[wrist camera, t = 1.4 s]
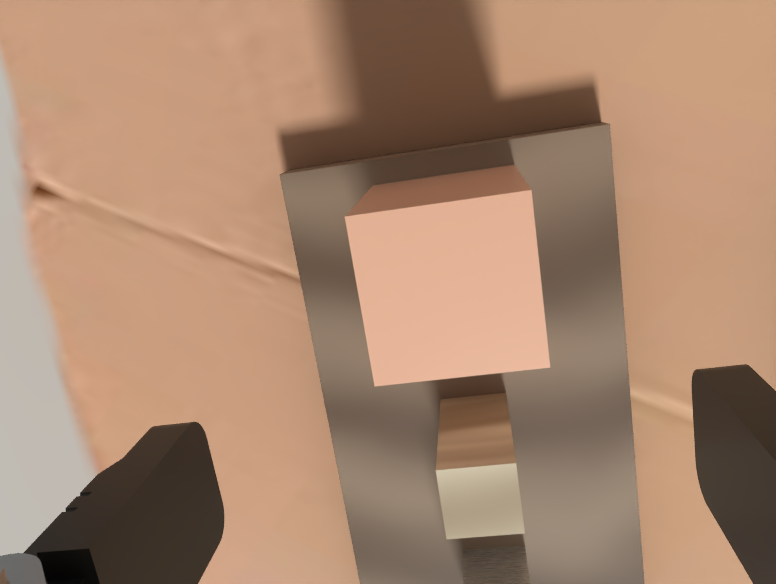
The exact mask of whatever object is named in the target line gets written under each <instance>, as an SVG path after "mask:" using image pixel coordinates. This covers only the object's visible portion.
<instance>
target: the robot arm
mask: <svg viewBox="0 0 776 584" xmlns="http://www.w3.org/2000/svg"><path fill="white" fill-rule="evenodd" d="M692 401H693V420H694V439H695V457H696V469H697V475H698V480H699V484H700V488H701V491H702V494H703V497H704V499H705V502H706V504H707V506H708V507H709V509H710V511H711V512H712V514H713V516H714V518H715V519H716V521H717V523H718V524H719V526H720V528H721V529H722V531H723V533H724V535H725V536H726V538H727V540H728V541H729V543H730V545H731V546H732V548H733V550H734V552H735V553H736V555H737V557H738V558H739V560H740V562H741V563H742V565H743V567H744V569H745V570H746V572H747V574H748V575H749V577H750V579H751V581H752V582H753V584H776V391H775V390H774V389H773V388H772V387H771V386H770V385H769V384H768V383H767V382H766V381H765V380H763V379H762V378H761V377H760V376H759V375H758V374H757V373H756V372H755V371H754V370H753V369H752V368H751V367H750V366H749V365H746V364H744V365H735V366H726V367H716V368H707V369H697V370H695V371H694V373H693V376H692ZM223 529H224V508H223V502H222V498H221V494H220V490H219V486H218V482H217V478H216V474H215V470H214V466H213V461H212V457H211V453H210V449H209V445H208V441H207V437H206V434H205V432H204V429H203V428H202V426H201V425H200V424H199V423H197V422H190V423H180V424H171V425H161V426H154V427H152V428H150V429H149V430H148V432H147V433H146V434H145V435H144V436H143V437H142V438H141V439H140V440H139V441H138V442H137V443H136V445H135V446H134V447H133V448H132V449H131V450H130V451H129V452H128V453H127V454H126V455H125V457H124V458H123V459H121V460H119V461H118V462H116V463H115V464H113V465H112V466H110V467H109V468H107V469H105V470H104V471H102V472H101V473H99V474H98V475H97V476H96V477H95V478H94V479H93V480H92V481H91V482H90V483H89V484H88V485H87V486H86V487H85V488H84V489H83V491H82V492H81V493H80V496H79V497H76V498H75V499H74V500H73V501H72V502H71V503H70V505H68V506H67V508H66V512H62V513H61V514H60V515H59V516H58V517H57V518H56V519H55V520H54V521H53V522H52V523H51V524H50V525H49V527H48V528H47V529H46V530H45V531H44V532H43V533H42V534H41V535H40V536H39V537H38V538H37V539H36V540H35V541H34V542H33V543H32V544H31V546H30V547H29V548H28V549H27V550H26V551H25V552H24V553H17V554H8V555H3V556H0V584H198V582H199V581H200V579H201V577H202V575H203V573H204V571H205V569H206V567H207V566H208V564H209V562H210V560H211V558H212V556H213V554H214V553H215V551H216V549H217V547H218V545H219V543H220V541H221V538H222V534H223Z"/></svg>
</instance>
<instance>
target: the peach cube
mask: <svg viewBox="0 0 776 584" xmlns="http://www.w3.org/2000/svg"><path fill="white" fill-rule="evenodd" d="M345 221H346V227H347V233H348V238H349V244H350V250H351V255H352V261H353V267H354V272H355V278H356V284H357V290H358V295H359V301H360V307H361V312H362V318H363V324H364V329H365V335H366V341H367V346H368V352H369V358H370V363H371V369H372V375H373V380H374V386H384V385H394V384H403V383H412V382H421V381H431V380H440V379H449V378H458V377H468V376H477V375H486V374H495V373H505V372H514V371H523V370H532V369H542V368H550V360H549V350H548V341H547V331H546V322H545V312H544V303H543V294H542V284H541V275H540V265H539V256H538V246H537V237H536V228H535V218H534V209H533V199H532V190H531V188H530V187H529V185H528V184H527V182H526V181H525V179H524V178H523V176H522V175H521V173H520V172H519V170H518V169H517V167H516V166H515V164H514V165H508V166H501V167H494V168H487V169H481V170H474V171H467V172H460V173H454V174H447V175H440V176H433V177H426V178H420V179H413V180H406V181H399V182H393V183H386V184H379V185H373V186H372V187H371V188H370V189H369V190H368V191H367V192H366V194H365V195H364V196H363V197H362V198H361V199H360V200H359V201H358V202H357V204H356V205H355V206H354V207H353V208H352V209H351V210H350V211H349V212H348V213H347V215H346V216H345Z"/></svg>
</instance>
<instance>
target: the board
mask: <svg viewBox="0 0 776 584" xmlns="http://www.w3.org/2000/svg"><path fill="white" fill-rule="evenodd" d="M514 164H515V166H516V167H517V169H518V170H519V172H520V173H521V175H522V176H523V178H524V179H525V181H526V182H527V184H528V185H529V187H530V188H531V190H532V199H533V209H534V218H535V228H536V237H537V246H538V256H539V265H540V275H541V284H542V294H543V303H544V312H545V322H546V331H547V341H548V350H549V360H550V368H542V369H532V370H523V371H514V372H505V373H495V374H486V375H477V376H468V377H458V378H449V379H440V380H431V381H421V382H412V383H403V384H394V385H384V386H374V380H373V375H372V369H371V363H370V358H369V352H368V346H367V341H366V335H365V329H364V324H363V318H362V312H361V307H360V301H359V295H358V290H357V284H356V278H355V272H354V267H353V261H352V255H351V250H350V244H349V238H348V233H347V227H346V221H345V216H346V215H347V213H348V212H349V211H350V210H351V209H352V208H353V207H354V206H355V205H356V204H357V202H358V201H359V200H360V199H361V198H362V197H363V196H364V195H365V194H366V192H367V191H368V190H369V189H370V188H371V187H372V186H373V185H379V184H386V183H393V182H399V181H406V180H413V179H420V178H426V177H433V176H440V175H447V174H454V173H460V172H467V171H474V170H481V169H487V168H494V167H501V166H508V165H514ZM280 179H281V184H282V189H283V194H284V199H285V204H286V209H287V214H288V219H289V224H290V230H291V235H292V240H293V245H294V250H295V255H296V260H297V265H298V270H299V275H300V280H301V285H302V290H303V296H304V301H305V306H306V311H307V316H308V321H309V326H310V331H311V336H312V341H313V346H314V351H315V356H316V361H317V367H318V372H319V377H320V382H321V387H322V392H323V397H324V402H325V407H326V412H327V417H328V422H329V427H330V432H331V438H332V443H333V448H334V453H335V458H336V463H337V468H338V473H339V478H340V483H341V488H342V493H343V498H344V504H345V509H346V514H347V519H348V524H349V529H350V534H351V539H352V544H353V549H354V554H355V559H356V564H357V569H358V575H359V580H360V584H463V550H473V549H487V548H500V547H514V546H525V548H526V555H527V562H528V570H529V577H530V584H644V572H643V559H642V545H641V532H640V519H639V506H638V493H637V479H636V466H635V453H634V440H633V426H632V413H631V400H630V387H629V374H628V360H627V347H626V334H625V321H624V307H623V294H622V281H621V268H620V255H619V241H618V228H617V215H616V202H615V188H614V175H613V162H612V149H611V136H610V124H607V123H603V122H600V123H593V124H587V125H580V126H574V127H567V128H561V129H554V130H547V131H541V132H534V133H528V134H521V135H515V136H508V137H502V138H495V139H489V140H482V141H476V142H469V143H463V144H456V145H450V146H443V147H437V148H430V149H424V150H417V151H411V152H404V153H398V154H391V155H385V156H378V157H372V158H365V159H359V160H352V161H346V162H339V163H333V164H326V165H320V166H313V167H307V168H300V169H294V170H288V171H286V172H284V173H282V174H280Z"/></svg>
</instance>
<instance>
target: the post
mask: <svg viewBox="0 0 776 584" xmlns="http://www.w3.org/2000/svg"><path fill="white" fill-rule="evenodd" d="M463 584H530V577H529V570H528V562H527V555H526V548H525V546H514V547H500V548H487V549H473V550H463Z"/></svg>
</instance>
